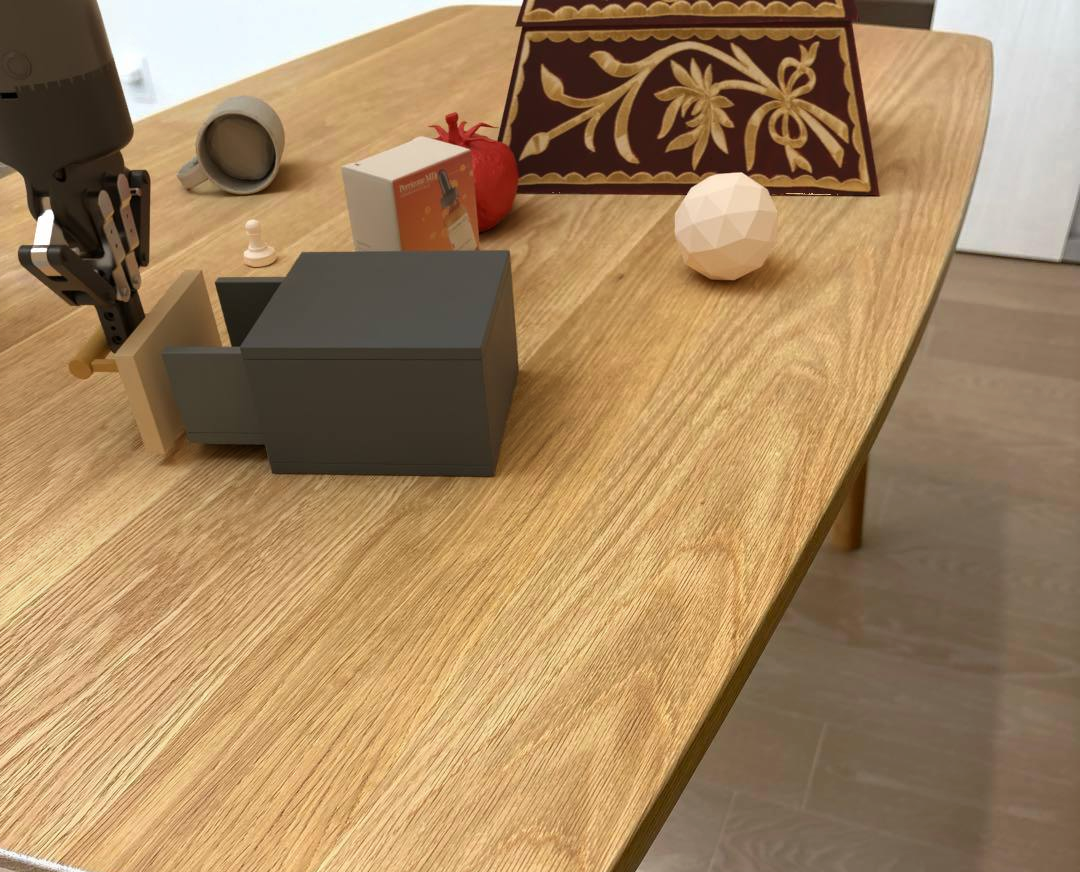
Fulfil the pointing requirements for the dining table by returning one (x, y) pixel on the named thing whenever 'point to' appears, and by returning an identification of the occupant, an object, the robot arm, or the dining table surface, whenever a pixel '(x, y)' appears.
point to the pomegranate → (485, 170)
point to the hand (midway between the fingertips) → (133, 349)
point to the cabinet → (386, 363)
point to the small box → (413, 198)
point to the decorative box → (688, 97)
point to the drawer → (188, 363)
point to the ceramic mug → (237, 147)
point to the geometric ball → (726, 226)
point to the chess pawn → (257, 247)
